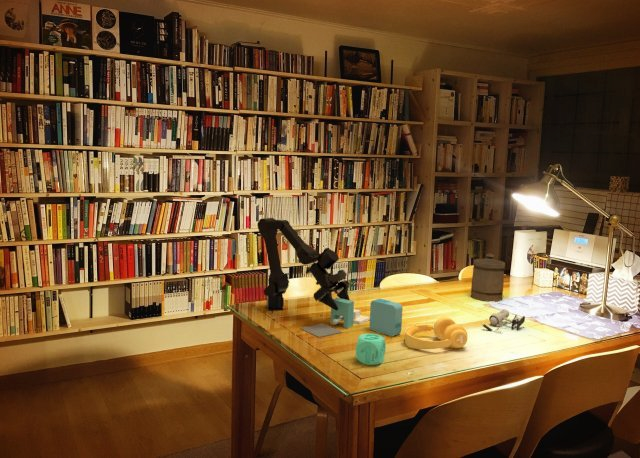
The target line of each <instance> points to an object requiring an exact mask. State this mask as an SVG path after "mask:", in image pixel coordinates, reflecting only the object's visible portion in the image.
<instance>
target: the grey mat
mask: <svg viewBox="0 0 640 458" xmlns="http://www.w3.org/2000/svg"><path fill="white" fill-rule="evenodd" d="M299 329H300V330H302V331H304V332H306V333H308V334H311V335H313V336H315V337H317V338H324V337H329V336H332V335H337V334H342V333H343V331H342V330H339V329H336V328H334V327H331V326H329V325H327V324H325V323H320V324H319V323H318V324H313V325H309V326H304V327H300V328H299Z"/></svg>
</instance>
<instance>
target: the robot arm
mask: <svg viewBox="0 0 640 458" xmlns="http://www.w3.org/2000/svg"><path fill="white" fill-rule="evenodd" d="M257 230H258V232H259V235H260V236H261V237H262V238H263V241H264V244H265V246H264V247H265V252H266V256H267V260H268V266H269V272H270V273H269V277H268V279H267V281H268V285H267V286H266V287H265V288H264V289H263V294H264V296H266V305H265V307H266V308H267V310H268V311H282V310H284V304H285V301H284V299H285V298H284V296H283V295H284V294H286V292H287V289H288V288H289V284H290V280H289V275H288V273H285V272H284V271H283V270H282V265H281V259H280V253H279V248H278V244H277V234H278V231H280V233H281V234H282V235H283V236H284V238H285V239H286V240H287V242H288V243H289V244H290V245H291V247H292V248H293V249H294V250H295V252H296V253H295V254H296V257H297V259H298V261H299V262H300V264H302V265H310V266H307V267H306V268H305V269H306V270H305V274H306V275H307V274H311V275H312V276H313V278H314V279H315V281H316V282H315V284H316V286H318V285H319V286H320V287H319V288H318V289H317V290H316V291H315V292H314V293H313V300H315V301H316V302H318V303H322V304H323V305H326V306H328V307H329V308H330V309H331V308H333V309H334V310H336V311H337V310H338V307H337V305H336V303H335V301H334V300H333V299H334V298H333V295H332V294H333V293H335V294H336V296H337V298H340V299H345V300H350V301H351V299H350V295H349V292H348V291H349V288H350V285H351V284H350V282H349V281H348V280H347V278H346V277H347V274H348V273H347V272H346V271H345V269H340V270H338V271H337V273H334V274H333V273H332V272H329V271H328V270H330V269H331V268H332V267H333V266H334V265H335V264H336V263H337V262H338V261H339V255H338V254H337V252H335V250H332V249H331V248H330V247H326V248H324V249H323V251H322V252H321V253H320V252H318V251H317V250H316V249H315V248H313V247H312V246H311V245H309V244H308V243H306V242H305V241H304V240H303V239H302V237H301V236H300V235H299V234H298V233H297V231H296V230H295V229H294V228H293V226H292V225H291V224H290V222H289V221H288V220H287V219H275V218H274V217H265V218H260V219H259V220H258V222H257Z"/></svg>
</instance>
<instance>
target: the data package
mask: <svg viewBox="0 0 640 458" xmlns="http://www.w3.org/2000/svg"><path fill="white" fill-rule="evenodd" d="M369 313H370V314H369V317H370V320H369V329H370V330H371V331H373V332H377V333H378V334H379V333H380V334H383V335H386V336H389V337H395V336H397V335H400V334H401V332H402V326H403V325H402V323H403V305H402V304H401V303H399V302H396V301H391V300H387V299H385V298H384V299H383V298H376V299H374V300H373V299H372V300H371V302H370V312H369Z"/></svg>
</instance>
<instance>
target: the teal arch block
mask: <svg viewBox="0 0 640 458" xmlns="http://www.w3.org/2000/svg"><path fill="white" fill-rule="evenodd" d="M333 300H334V301H335V303H336V305H337V307H338V310H337V311H336V310H334V309H333V308H331V307H330V325H331V326H332V325H333V326H336V325H338V324H340V323H341V321H340V322H338V323H337V324H333V320H334V319H339V318H340V316H342V317H344V320H343V328H345V329H349V328H351V327H354V323H353V313H354V309H355V307H354V306H355V301H353V300H351V299H350V300H345V299H340V298H339V297H335V298H333Z"/></svg>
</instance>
